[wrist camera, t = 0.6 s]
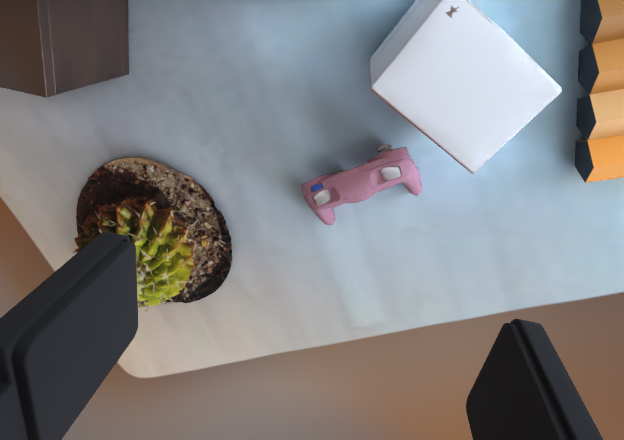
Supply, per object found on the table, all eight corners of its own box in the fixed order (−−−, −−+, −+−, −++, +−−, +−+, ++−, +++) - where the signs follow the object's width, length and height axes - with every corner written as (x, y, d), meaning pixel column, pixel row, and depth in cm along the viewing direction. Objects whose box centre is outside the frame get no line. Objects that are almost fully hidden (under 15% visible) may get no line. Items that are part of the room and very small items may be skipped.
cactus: (260, 282, 46) (234, 346, 37) (137, 313, 50) (89, 377, 42) (186, 132, 39) (134, 168, 31) (52, 182, 44) (-27, 226, 35)
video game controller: (410, 145, 39) (403, 131, 32) (426, 192, 39) (423, 189, 32) (312, 182, 42) (287, 177, 35) (326, 227, 41) (304, 230, 35)
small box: (367, 60, 35) (366, 87, 23) (423, -12, 32) (452, -20, 21) (441, 122, 36) (474, 177, 25) (499, 59, 34) (568, 88, 22)
